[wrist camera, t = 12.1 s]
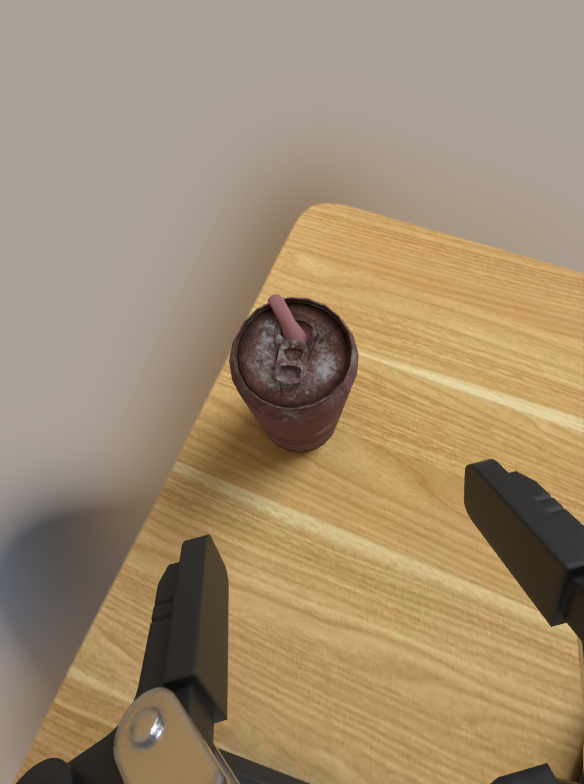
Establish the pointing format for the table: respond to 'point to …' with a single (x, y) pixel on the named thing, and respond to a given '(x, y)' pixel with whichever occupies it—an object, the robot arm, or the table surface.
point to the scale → (256, 772)
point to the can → (294, 370)
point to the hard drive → (581, 778)
